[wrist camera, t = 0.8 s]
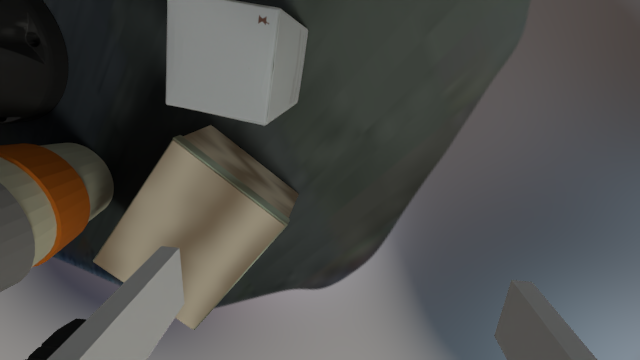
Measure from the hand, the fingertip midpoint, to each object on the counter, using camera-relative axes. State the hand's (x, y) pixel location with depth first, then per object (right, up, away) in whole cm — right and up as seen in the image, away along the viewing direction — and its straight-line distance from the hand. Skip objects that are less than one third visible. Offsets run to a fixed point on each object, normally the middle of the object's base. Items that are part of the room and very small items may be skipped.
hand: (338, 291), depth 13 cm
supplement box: (-6, +16, +20) cm, 26 cm away
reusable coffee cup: (-29, +5, +26) cm, 40 cm away
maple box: (-13, +1, +25) cm, 29 cm away
